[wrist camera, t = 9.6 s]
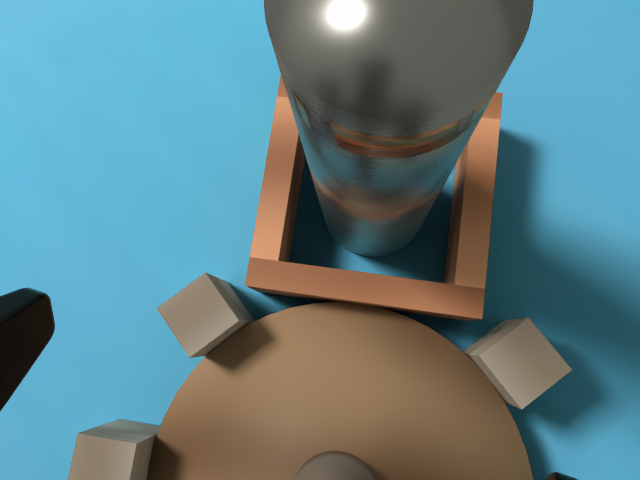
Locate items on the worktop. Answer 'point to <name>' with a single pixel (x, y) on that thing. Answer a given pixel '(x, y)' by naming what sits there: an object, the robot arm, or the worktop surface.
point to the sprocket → (340, 359)
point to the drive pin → (389, 101)
